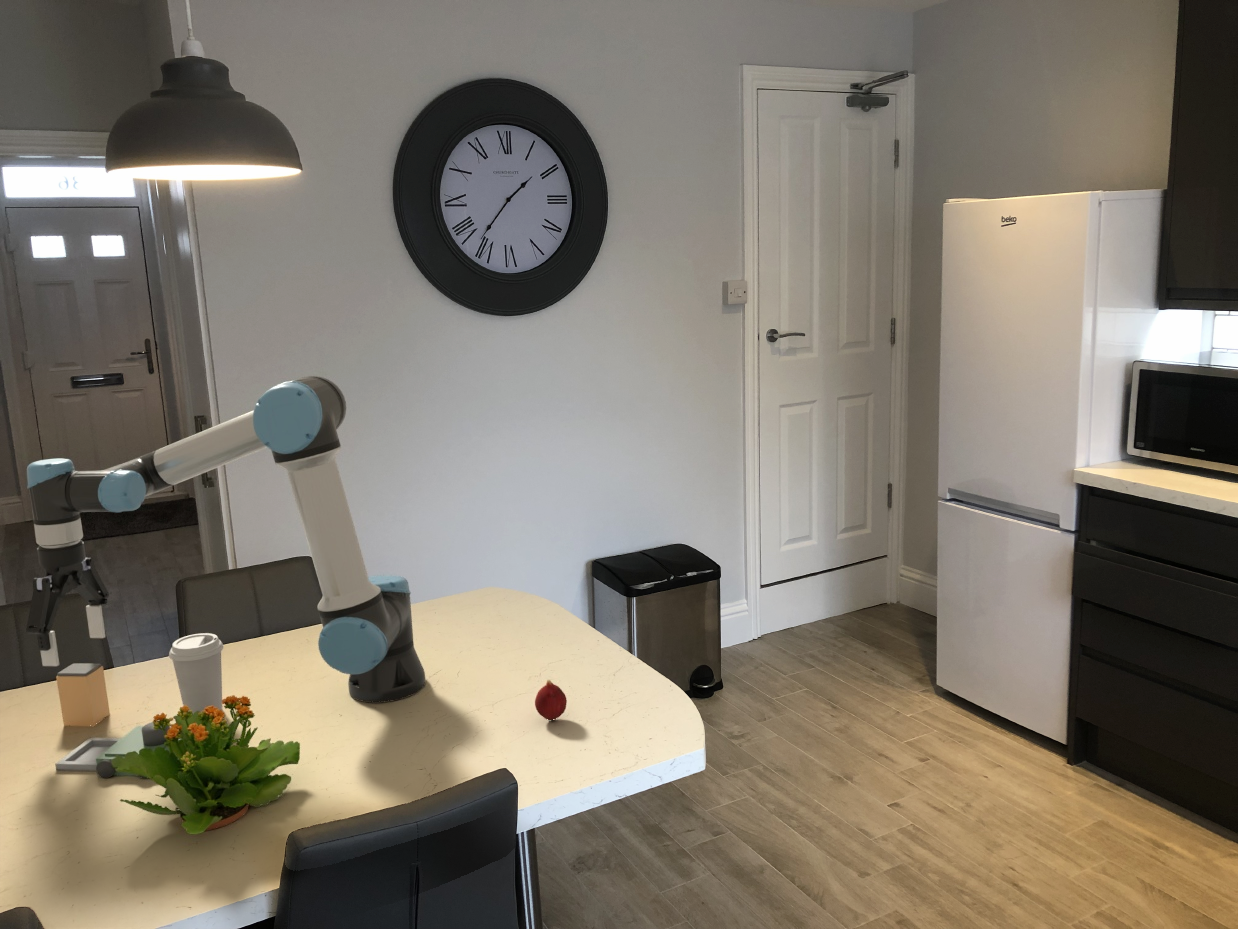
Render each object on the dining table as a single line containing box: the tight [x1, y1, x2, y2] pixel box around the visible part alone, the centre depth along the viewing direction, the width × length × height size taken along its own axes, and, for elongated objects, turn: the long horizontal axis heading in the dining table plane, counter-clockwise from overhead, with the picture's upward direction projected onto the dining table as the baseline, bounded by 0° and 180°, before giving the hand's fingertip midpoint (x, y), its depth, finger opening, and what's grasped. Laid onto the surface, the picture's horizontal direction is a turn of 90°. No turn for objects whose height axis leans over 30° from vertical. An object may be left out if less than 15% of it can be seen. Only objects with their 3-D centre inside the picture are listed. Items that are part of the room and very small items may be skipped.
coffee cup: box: [168, 632, 224, 714], centre depth 182 cm, size 10×10×15 cm
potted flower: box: [111, 695, 301, 835], centre depth 146 cm, size 25×24×18 cm
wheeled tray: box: [55, 721, 181, 780], centre depth 167 cm, size 20×14×6 cm
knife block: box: [55, 662, 111, 727], centre depth 182 cm, size 6×5×11 cm
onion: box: [534, 679, 568, 721], centre depth 175 cm, size 6×6×8 cm
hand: (75, 651), depth 180 cm, fingers open, 13 cm apart
